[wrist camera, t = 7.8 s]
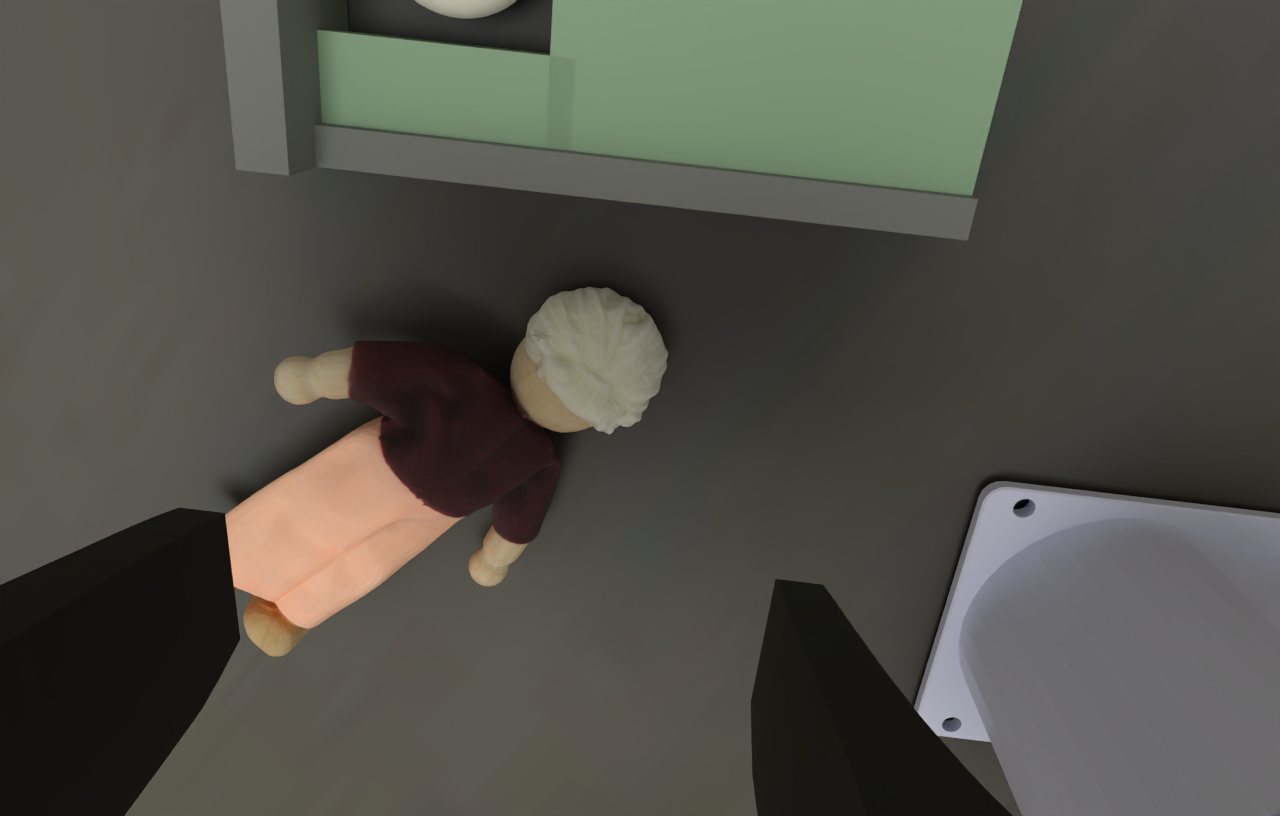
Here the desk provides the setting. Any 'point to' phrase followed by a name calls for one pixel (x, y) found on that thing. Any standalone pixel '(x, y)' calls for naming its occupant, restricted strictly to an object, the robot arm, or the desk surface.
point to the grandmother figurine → (433, 456)
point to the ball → (466, 7)
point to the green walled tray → (646, 104)
